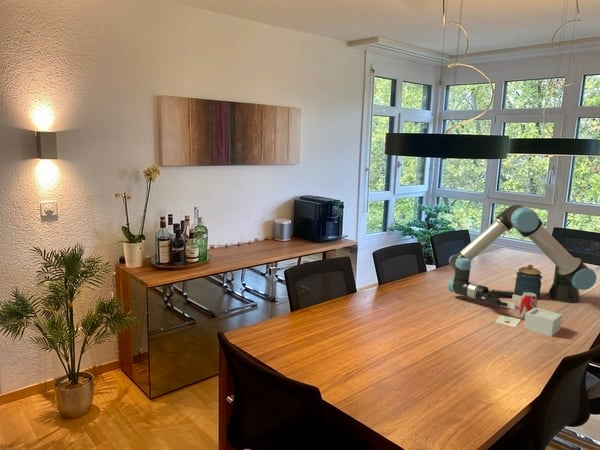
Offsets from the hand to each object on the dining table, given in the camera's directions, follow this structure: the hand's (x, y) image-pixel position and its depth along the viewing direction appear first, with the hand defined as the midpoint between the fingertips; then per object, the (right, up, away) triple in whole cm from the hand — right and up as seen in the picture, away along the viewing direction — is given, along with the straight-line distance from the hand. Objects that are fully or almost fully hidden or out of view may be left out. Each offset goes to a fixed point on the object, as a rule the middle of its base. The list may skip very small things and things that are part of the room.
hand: (520, 303), depth 222 cm
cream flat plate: (-9, -7, -6) cm, 13 cm away
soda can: (+2, -7, -1) cm, 7 cm away
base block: (+3, -9, -14) cm, 17 cm away
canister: (+19, -1, +32) cm, 37 cm away
